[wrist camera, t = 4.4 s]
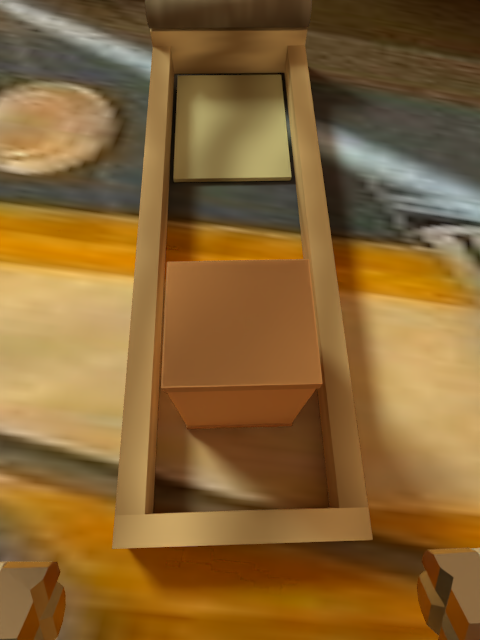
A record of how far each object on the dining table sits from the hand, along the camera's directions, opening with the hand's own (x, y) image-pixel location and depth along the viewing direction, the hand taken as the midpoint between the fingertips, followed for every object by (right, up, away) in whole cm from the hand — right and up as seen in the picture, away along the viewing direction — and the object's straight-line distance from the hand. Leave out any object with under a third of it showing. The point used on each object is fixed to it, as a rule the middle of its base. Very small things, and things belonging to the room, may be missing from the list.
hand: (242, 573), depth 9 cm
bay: (0, +11, +16) cm, 19 cm away
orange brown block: (0, +2, +12) cm, 12 cm away
